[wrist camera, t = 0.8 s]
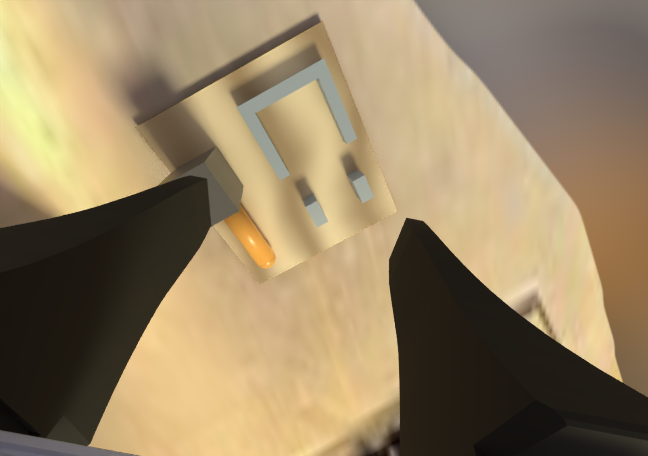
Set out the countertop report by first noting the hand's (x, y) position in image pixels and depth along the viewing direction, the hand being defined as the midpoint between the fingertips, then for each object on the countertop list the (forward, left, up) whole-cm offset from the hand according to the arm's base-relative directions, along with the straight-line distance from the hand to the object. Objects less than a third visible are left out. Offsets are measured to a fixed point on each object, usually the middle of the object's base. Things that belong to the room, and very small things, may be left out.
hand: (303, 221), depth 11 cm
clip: (+2, -7, -16) cm, 18 cm away
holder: (+2, 0, -16) cm, 16 cm away
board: (-1, -3, -17) cm, 17 cm away
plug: (-7, -4, -16) cm, 18 cm away
